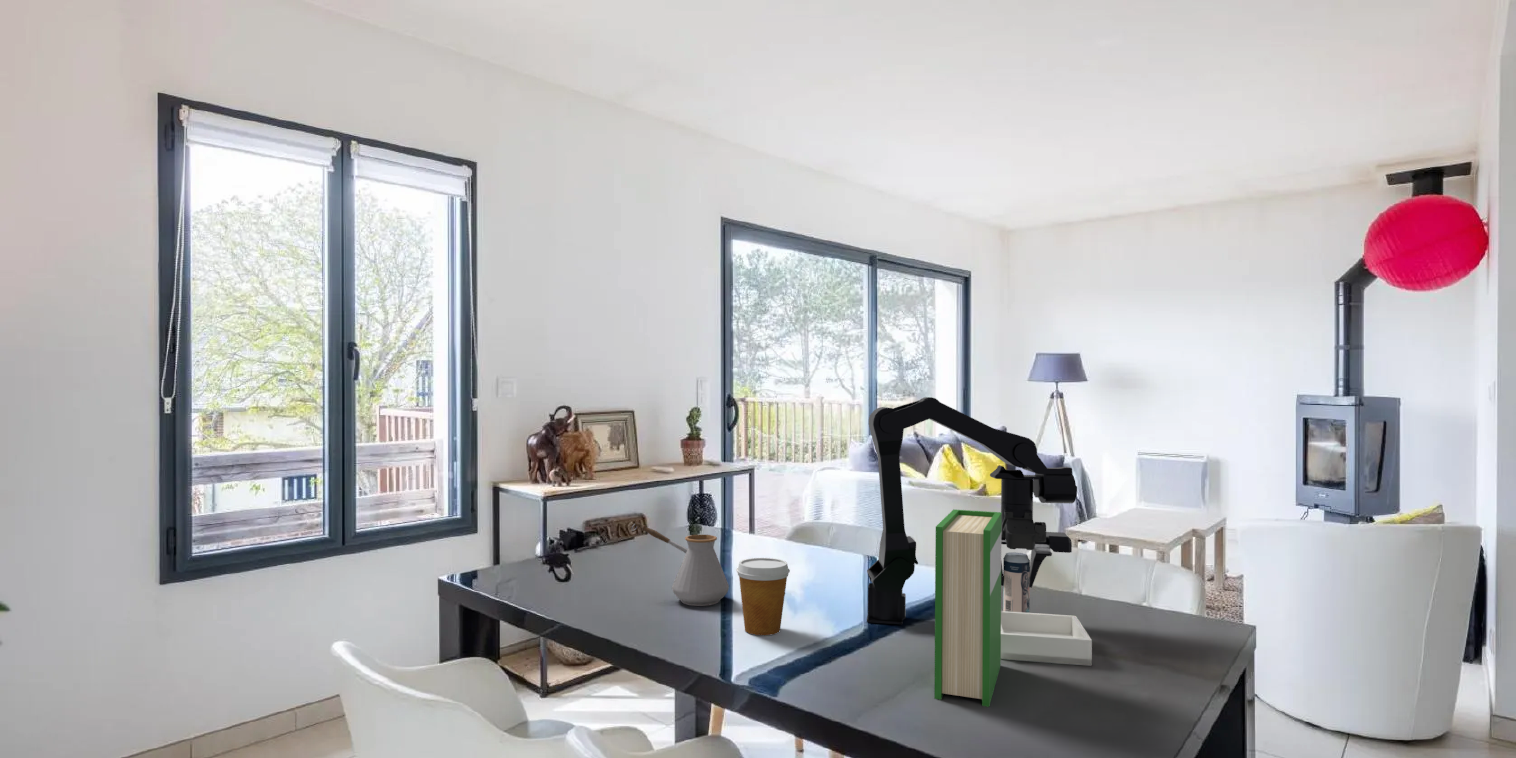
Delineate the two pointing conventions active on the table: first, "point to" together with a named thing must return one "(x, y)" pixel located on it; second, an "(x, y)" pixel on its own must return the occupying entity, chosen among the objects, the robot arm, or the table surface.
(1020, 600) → the beer can
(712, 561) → the coffee pot
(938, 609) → the hardback book
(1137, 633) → the table surface
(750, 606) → the disposable coffee cup
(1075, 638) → the bin
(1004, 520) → the robot arm
